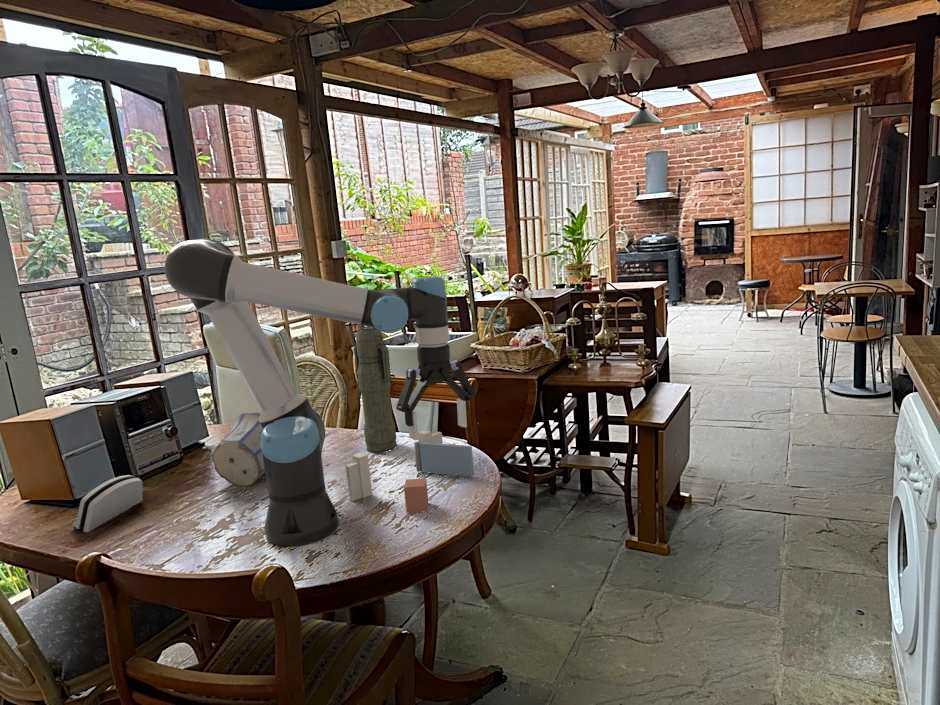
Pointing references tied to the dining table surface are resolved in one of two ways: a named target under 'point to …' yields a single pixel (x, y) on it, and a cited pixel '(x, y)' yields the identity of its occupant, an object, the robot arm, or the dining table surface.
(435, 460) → the door
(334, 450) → the dining table surface
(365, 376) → the thermos
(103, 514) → the white napkin holder
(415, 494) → the reddish brown block
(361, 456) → the doorframe
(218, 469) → the potted plant
